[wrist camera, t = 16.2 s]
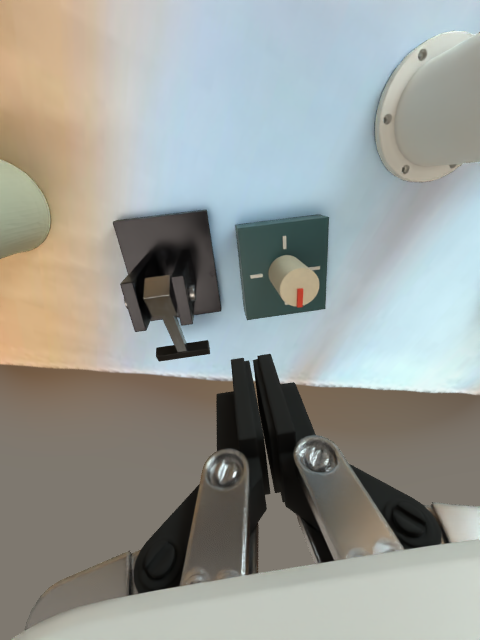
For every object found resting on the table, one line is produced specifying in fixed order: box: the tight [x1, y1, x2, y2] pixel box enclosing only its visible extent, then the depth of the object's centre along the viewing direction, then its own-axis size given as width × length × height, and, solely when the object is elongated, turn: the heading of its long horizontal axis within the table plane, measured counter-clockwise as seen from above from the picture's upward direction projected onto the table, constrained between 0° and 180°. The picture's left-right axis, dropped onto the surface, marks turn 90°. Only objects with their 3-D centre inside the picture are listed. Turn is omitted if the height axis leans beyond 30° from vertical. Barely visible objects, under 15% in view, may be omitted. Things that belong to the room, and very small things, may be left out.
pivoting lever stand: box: [113, 210, 221, 332], centre depth 28 cm, size 12×10×12 cm
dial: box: [269, 255, 319, 307], centre depth 29 cm, size 4×4×6 cm
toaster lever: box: [143, 275, 210, 361], centre depth 28 cm, size 12×6×2 cm, turn 6°
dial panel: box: [235, 215, 329, 320], centre depth 33 cm, size 10×11×3 cm
